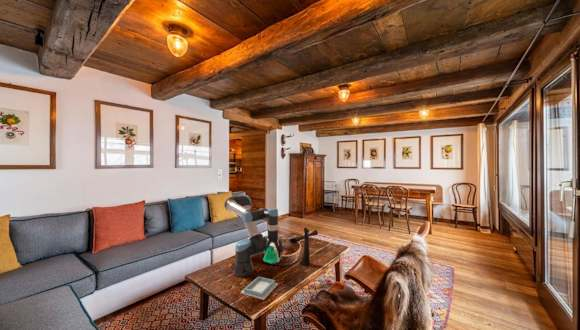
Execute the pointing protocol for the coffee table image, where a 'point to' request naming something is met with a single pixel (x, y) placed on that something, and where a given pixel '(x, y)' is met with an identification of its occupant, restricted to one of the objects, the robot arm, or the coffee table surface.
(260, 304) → the coffee table surface
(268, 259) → the camera mount
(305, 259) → the flared trumpet-armed statue
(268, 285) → the dock
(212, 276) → the coffee table surface
